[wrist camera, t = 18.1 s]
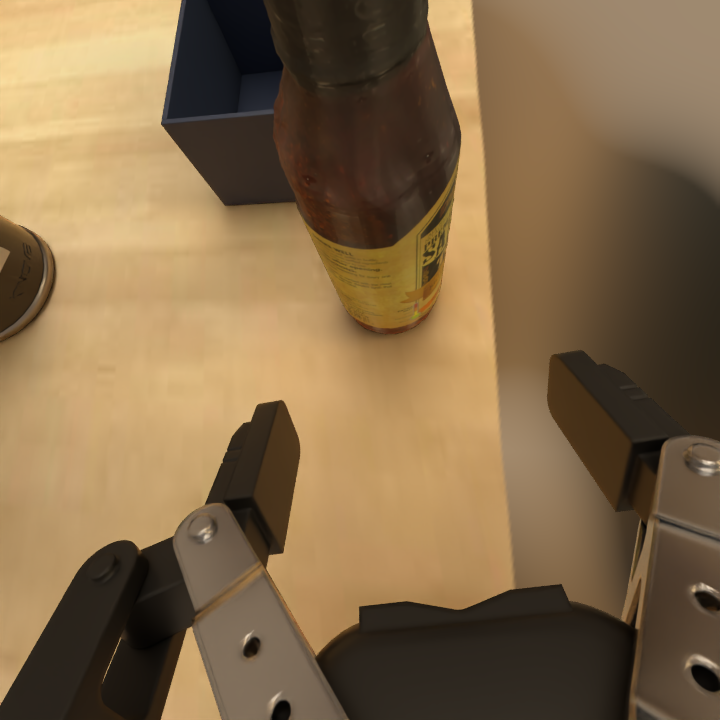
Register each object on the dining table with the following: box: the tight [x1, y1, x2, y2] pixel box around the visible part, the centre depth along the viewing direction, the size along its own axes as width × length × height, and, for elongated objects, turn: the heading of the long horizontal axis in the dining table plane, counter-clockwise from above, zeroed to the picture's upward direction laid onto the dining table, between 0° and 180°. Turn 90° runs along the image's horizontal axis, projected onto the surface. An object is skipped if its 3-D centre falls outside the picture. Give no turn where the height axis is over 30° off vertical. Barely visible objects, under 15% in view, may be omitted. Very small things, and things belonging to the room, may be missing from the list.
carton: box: [161, 0, 296, 206], centre depth 25 cm, size 10×12×7 cm
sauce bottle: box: [263, 0, 461, 334], centre depth 15 cm, size 6×6×20 cm
